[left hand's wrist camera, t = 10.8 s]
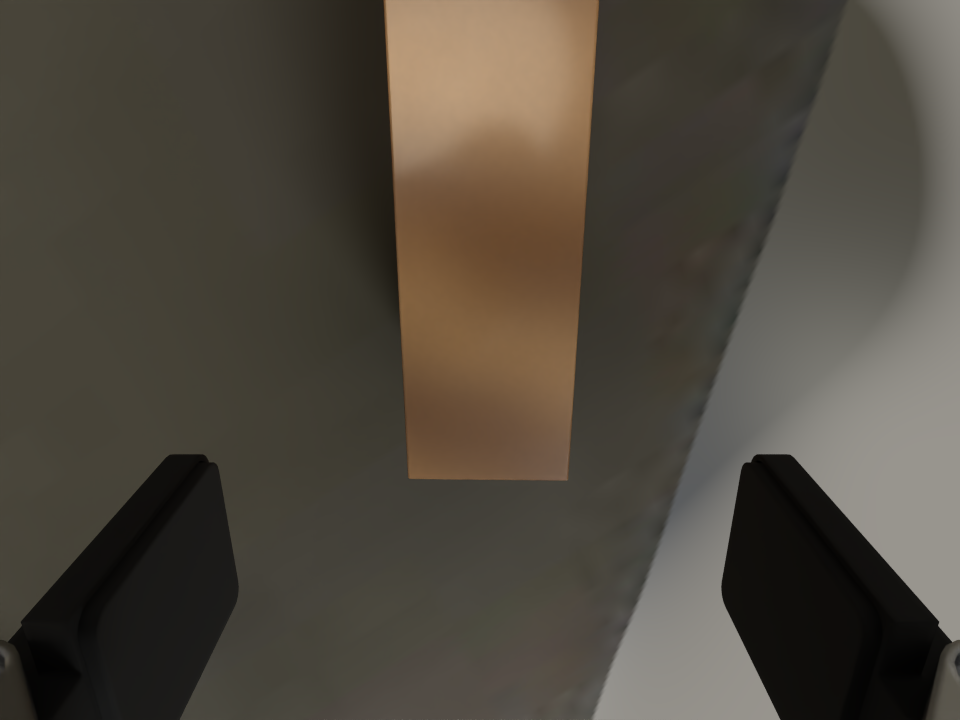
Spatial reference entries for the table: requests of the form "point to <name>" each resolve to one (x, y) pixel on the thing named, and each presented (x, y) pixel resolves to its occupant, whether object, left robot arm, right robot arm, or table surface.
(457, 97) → the bar
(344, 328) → the table surface
